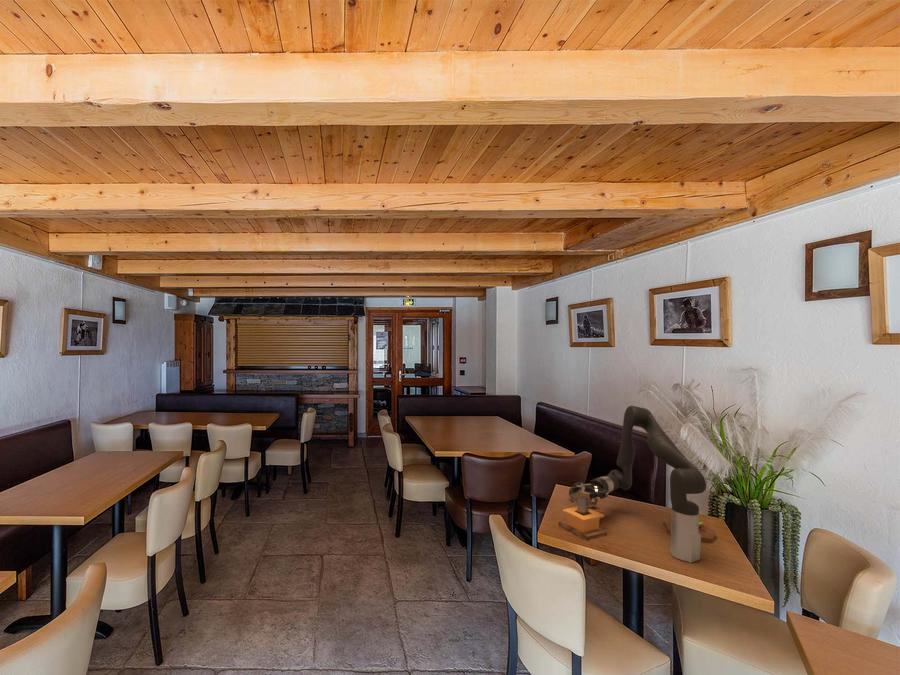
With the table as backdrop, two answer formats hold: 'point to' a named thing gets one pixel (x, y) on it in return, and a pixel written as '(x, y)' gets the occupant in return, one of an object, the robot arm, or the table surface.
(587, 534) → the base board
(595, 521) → the orange square collar
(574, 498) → the tin
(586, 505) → the dark grey rectangular block
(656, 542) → the table surface
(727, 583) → the table surface
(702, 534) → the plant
